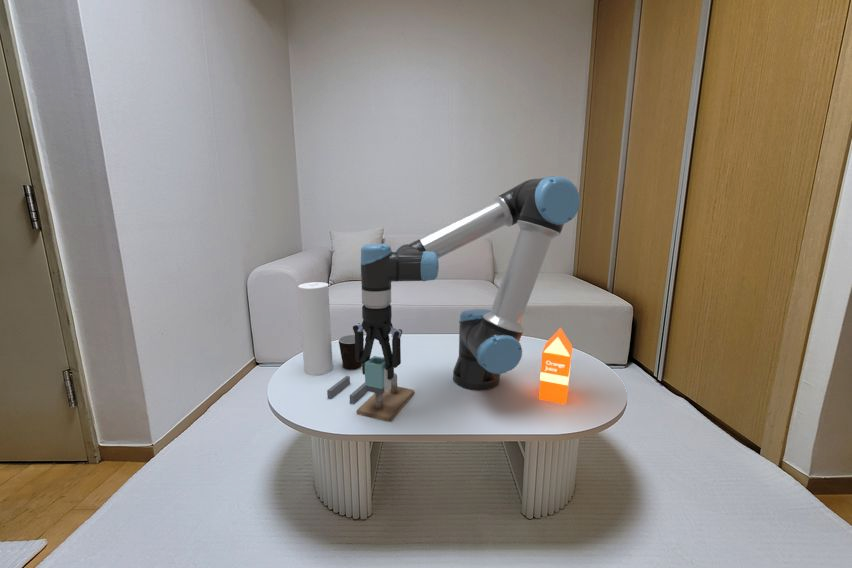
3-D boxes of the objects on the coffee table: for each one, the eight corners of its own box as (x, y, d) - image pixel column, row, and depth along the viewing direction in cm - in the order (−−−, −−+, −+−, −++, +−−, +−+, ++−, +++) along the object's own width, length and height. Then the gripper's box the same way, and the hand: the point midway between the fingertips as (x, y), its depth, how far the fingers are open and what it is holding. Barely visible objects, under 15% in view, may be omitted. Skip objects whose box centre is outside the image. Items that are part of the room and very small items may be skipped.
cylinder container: (315, 377, 122) (309, 288, 115) (298, 370, 127) (292, 284, 121) (338, 367, 129) (334, 283, 122) (321, 361, 134) (316, 279, 128)
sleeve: (382, 394, 98) (381, 366, 96) (365, 390, 100) (364, 362, 98) (390, 385, 102) (390, 358, 101) (374, 382, 104) (374, 355, 102)
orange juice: (538, 399, 109) (543, 334, 105) (542, 385, 117) (546, 325, 113) (566, 404, 106) (572, 338, 102) (568, 390, 114) (574, 328, 110)
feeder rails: (371, 388, 115) (370, 380, 114) (353, 404, 106) (353, 396, 105) (346, 383, 118) (346, 375, 118) (327, 398, 109) (327, 390, 109)
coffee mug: (352, 358, 136) (351, 332, 134) (370, 364, 131) (369, 338, 129) (327, 370, 127) (326, 342, 125) (345, 377, 122) (343, 348, 120)
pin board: (414, 393, 112) (414, 371, 110) (389, 422, 97) (389, 396, 96) (384, 387, 116) (384, 365, 114) (356, 414, 101) (355, 389, 99)
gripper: (414, 304, 96) (414, 387, 101) (354, 297, 102) (356, 375, 107) (402, 312, 89) (402, 400, 94) (338, 304, 96) (341, 387, 101)
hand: (378, 387), depth 101 cm, fingers closed on sleeve, 5 cm apart
